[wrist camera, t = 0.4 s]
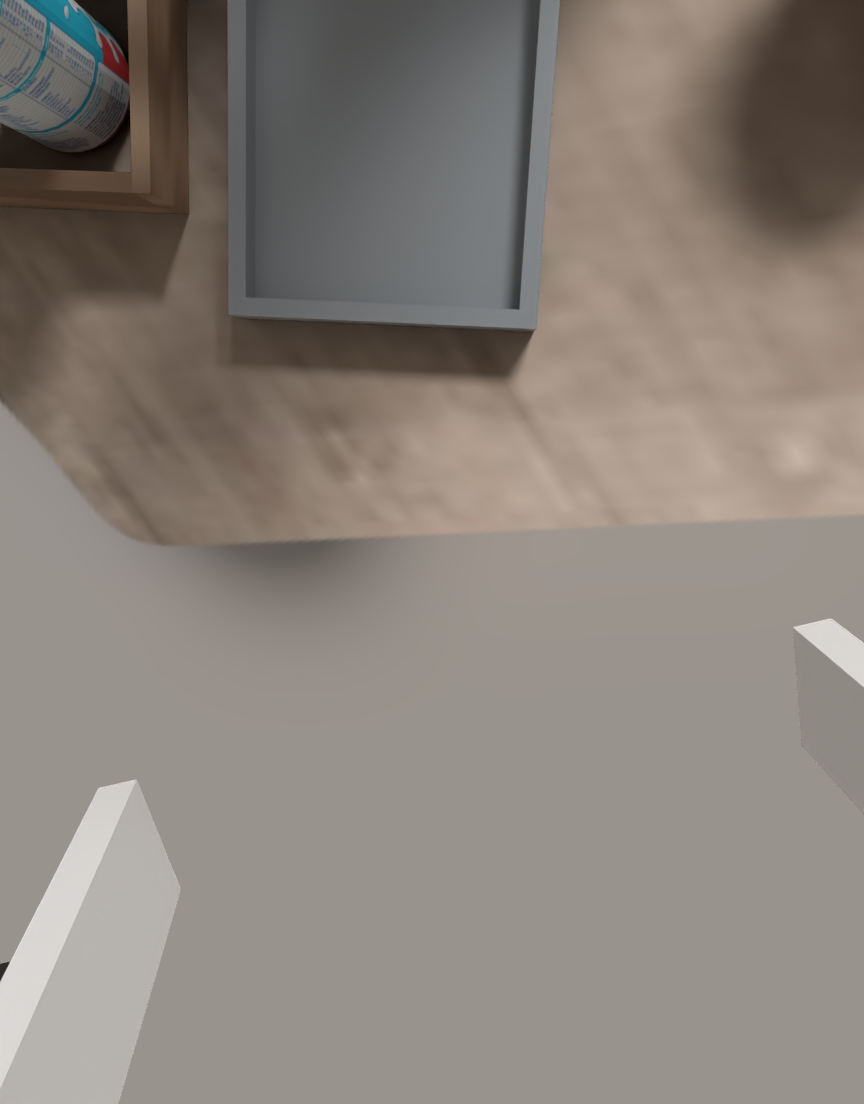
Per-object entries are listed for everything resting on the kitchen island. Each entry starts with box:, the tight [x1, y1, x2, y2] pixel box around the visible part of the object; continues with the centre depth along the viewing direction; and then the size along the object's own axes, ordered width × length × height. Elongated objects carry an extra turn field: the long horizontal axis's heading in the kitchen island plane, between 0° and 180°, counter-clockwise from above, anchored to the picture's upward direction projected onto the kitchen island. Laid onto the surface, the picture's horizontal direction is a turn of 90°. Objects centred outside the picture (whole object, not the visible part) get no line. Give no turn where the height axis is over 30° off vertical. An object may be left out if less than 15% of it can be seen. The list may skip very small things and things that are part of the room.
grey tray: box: [227, 0, 560, 332], centre depth 37 cm, size 18×14×2 cm
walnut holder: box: [0, 0, 189, 214], centre depth 37 cm, size 11×11×4 cm
